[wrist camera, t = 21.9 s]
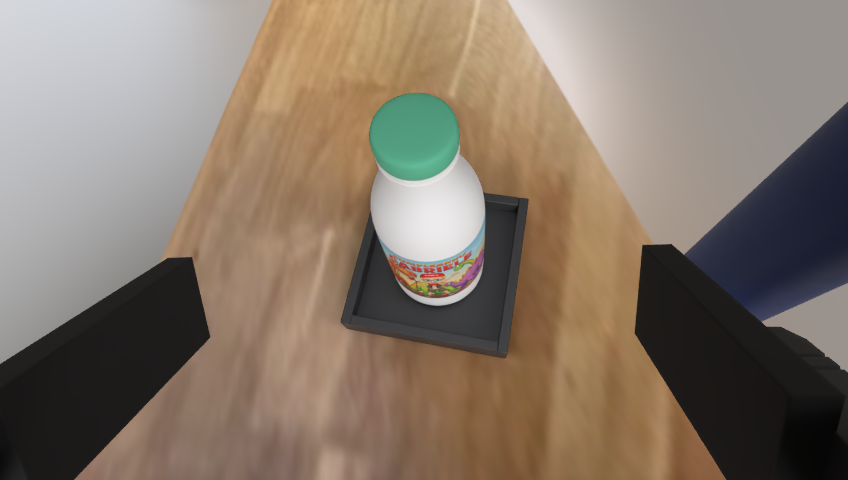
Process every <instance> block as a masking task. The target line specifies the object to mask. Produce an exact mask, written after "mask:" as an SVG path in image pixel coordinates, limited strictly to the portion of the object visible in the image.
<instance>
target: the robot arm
mask: <svg viewBox="0 0 848 480" xmlns="http://www.w3.org/2000/svg"><path fill="white" fill-rule="evenodd" d="M635 335H636V336H637V338H638V339H639V341H640V343H641V344H642V346H643V347H644V349H645V350H646V352H647V354H648V355H649V357H650V358H651V360H652V362H653V363H654V365H655V366H656V368H657V370H658V371H659V373H660V374H661V376H662V378H663V379H664V381H665V382H666V384H667V386H668V387H669V389H670V390H671V392H672V394H673V395H674V397H675V398H676V400H677V402H678V403H679V405H680V406H681V408H682V410H683V411H684V413H685V414H686V416H687V418H688V419H689V421H690V422H691V424H692V425H693V427H694V429H695V430H696V432H697V433H698V435H699V437H700V438H701V440H702V441H703V443H704V445H705V446H706V448H707V449H708V451H709V453H710V454H711V456H712V457H713V459H714V461H715V462H716V464H717V465H718V467H719V469H720V470H721V472H722V473H723V475H724V477H725V478H726V480H848V372H846V371H845V370H841V369H840V366H839V365H838V364H837V363H835V362H834V361H833V360H832V359H830V358H829V357H825V354H824V353H823V352H821V351H820V350H819V349H817V348H816V347H815V346H814V345H813V344H812V343H810V342H809V341H808V340H807V339H805V338H803V337H801V336H798V335H796V334H794V333H792V332H790V331H788V330H786V329H784V328H782V327H766V326H765V325H764V324H763V323H762V322H760V321H759V320H758V319H757V318H756V317H755V316H754V315H752V314H751V313H750V312H749V311H748V310H747V309H745V308H744V307H743V306H742V305H741V304H740V303H739V302H737V301H736V300H735V299H734V298H733V297H732V296H731V295H729V294H728V293H727V292H726V291H725V290H724V289H722V288H721V287H720V286H719V285H718V284H717V283H716V282H714V281H713V280H712V279H711V278H710V277H709V276H707V275H706V274H705V273H704V272H703V271H702V270H701V269H699V268H698V267H697V266H696V265H695V264H694V263H693V262H691V261H690V260H689V259H688V258H687V257H686V256H684V255H683V254H682V253H681V252H680V251H679V250H677V249H676V248H675V247H674V246H673V245H672V244H665V245H643V246H642V257H641V268H640V280H639V291H638V302H637V313H636V325H635ZM209 338H210V334H209V330H208V326H207V321H206V317H205V312H204V308H203V304H202V299H201V295H200V291H199V286H198V282H197V277H196V273H195V269H194V264H193V260H192V257H186V258H167V259H166V260H164V261H162V262H161V263H159V264H158V265H156V266H155V267H153V268H151V269H150V270H149V271H147V272H145V273H144V274H142V275H140V276H139V277H137V278H136V279H134V280H132V281H131V282H129V283H128V284H126V285H125V286H123V287H121V288H120V289H118V290H117V291H115V292H113V293H112V294H110V295H109V296H107V297H106V298H104V299H102V300H101V301H99V302H98V303H96V304H94V305H93V306H91V307H90V308H88V309H87V310H85V311H83V312H82V313H80V314H79V315H77V316H76V317H74V318H72V319H71V320H69V321H68V322H66V323H65V324H63V325H61V326H60V327H58V328H56V329H55V330H53V331H52V332H50V333H49V334H47V335H46V336H44V337H42V338H41V339H39V340H38V341H36V342H34V343H33V344H31V345H30V346H28V347H26V348H25V349H23V350H22V351H20V352H19V353H17V354H15V355H14V356H12V357H11V358H9V359H7V360H6V361H4V362H3V363H1V364H0V480H74V479H75V478H76V477H77V476H78V475H79V474H80V473H81V472H82V471H83V470H84V469H85V468H86V467H87V466H88V464H89V463H90V462H91V461H92V460H93V459H94V458H95V457H96V456H97V455H98V454H99V453H100V452H101V451H102V450H103V449H104V448H105V447H106V446H107V445H108V444H109V443H110V442H111V440H112V439H113V438H114V437H115V436H116V435H117V434H118V433H119V432H120V431H121V430H122V429H123V428H124V427H125V426H126V425H127V424H128V423H129V422H130V421H131V420H132V419H133V418H134V416H135V415H136V414H137V413H138V412H139V411H140V410H141V409H142V408H143V407H144V406H145V405H146V404H147V403H148V402H149V401H150V400H151V399H152V398H153V397H154V396H155V395H156V394H157V393H158V391H159V390H160V389H161V388H162V387H163V386H164V385H165V384H166V383H167V382H168V381H169V380H170V379H171V378H172V377H173V376H174V375H175V374H176V373H177V372H178V371H179V370H180V369H181V367H182V366H183V365H184V364H185V363H186V362H187V361H188V360H189V359H190V358H191V357H192V356H193V355H194V354H195V353H196V352H197V351H198V350H199V349H200V348H201V347H202V346H203V345H204V343H205V342H206V341H207V340H208V339H209Z"/></svg>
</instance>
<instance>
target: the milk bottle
mask: <svg viewBox="0 0 848 480" xmlns="http://www.w3.org/2000/svg"><path fill="white" fill-rule="evenodd" d="M369 139H370V144H371V148H372V152H373V154H374V157H375V159H376V163H377V166H378V168H379V171H378V173H377V175H376V177H375V180H374V183H373V187H372V191H371V214H372V220H373V224H374V227H375V230H376V233H377V236H378V238H379V241H380V243H381V245H382V248H383V250H384V252H385V255H386V257H387V259H388V262H389V264H390V266H391V268H392V271H393V273H394V275H395V277H396V279H397V281H398V283H399V285H400V286H401V288H402V289H403V290H404V291H405V293H406V294H408V295H409V296H410V297H411V298H413V299H414V300H416V301H418V302H420V303H423V304H427V305H433V306H442V305H448V304H452V303H455V302H457V301H459V300H461V299H463V298H464V297H466V296H467V295H468V294H469V293H470V292H471V291H472V290H473V289H474V288H475V286H476V285H477V283H478V281H479V279H480V277H481V274H482V269H483V261H484V242H485V200H484V195H483V190H482V187H481V184H480V181H479V179H478V177H477V175H476V173H475V171H474V170H473V168H472V167H471V166H470V164H469V163H468V162H467V161H466V160H465V159H464V158H463V157H462V156H461V155H460V154H459V153H460V144H459V126H458V122H457V119H456V116H455V114H454V113H453V111H452V109H451V108H450V107H449V106H448V105H447V104H446V103H445V102H444V101H442V100H441V99H439V98H437V97H435V96H432V95H428V94H423V93H410V94H405V95H401V96H398V97H396V98H393V99H392V100H390V101H388V102H387V103H385V104H384V105H383V106H382V107H381V108H380V109H379V110H378V111H377V112H376V114H375V115H374V117H373V119H372V122H371V125H370V131H369Z"/></svg>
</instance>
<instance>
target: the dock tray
mask: <svg viewBox="0 0 848 480" xmlns="http://www.w3.org/2000/svg"><path fill="white" fill-rule="evenodd" d="M483 195H484V200H485V242H484V261H483V269H482V274H481V277H480V279H479V281H478V283H477V285H476V286H475V288H474V289H473V290H472V291H471V292H470V293H469V294H468V295H467V296H466V297H464V298H463V299H461V300H459V301H457V302H455V303H452V304H448V305H442V306H433V305H427V304H423V303H420V302H418V301H416V300H414V299H413V298H411V297H410V296H409V295H408V294H406V293H405V291H404V290H403V289H402V288H401V286H400V285H399V283H398V281H397V279H396V277H395V275H394V273H393V271H392V268H391V266H390V264H389V262H388V259H387V257H386V255H385V252H384V250H383V248H382V245H381V243H380V241H379V238H378V236H377V233H376V230H375V227H374V224H373V220H372V214H371V211H370V215H369V219H368V222H367V226H366V230H365V233H364V237H363V241H362V244H361V248H360V252H359V256H358V259H357V263H356V267H355V270H354V274H353V278H352V281H351V285H350V289H349V292H348V296H347V300H346V303H345V307H344V311H343V315H342V318H341V323H342V324H343V325H344V326H345V327H346V328H347V329H352V330H357V331H363V332H368V333H373V334H379V335H384V336H389V337H395V338H400V339H405V340H411V341H416V342H421V343H427V344H432V345H437V346H443V347H448V348H453V349H459V350H464V351H469V352H474V353H480V354H485V355H490V356H496V357H501V358H506V355H507V352H508V345H509V338H510V331H511V324H512V316H513V309H514V302H515V295H516V288H517V280H518V273H519V266H520V259H521V251H522V244H523V237H524V230H525V223H526V215H527V208H528V201H529V199H525V198H520V199H519V198H517V197H509V196H502V195H494V194H487V193H483Z"/></svg>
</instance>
